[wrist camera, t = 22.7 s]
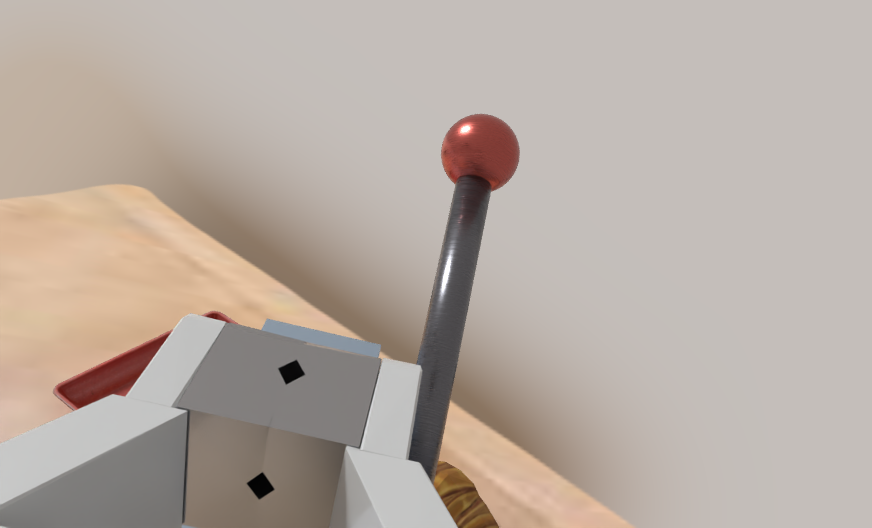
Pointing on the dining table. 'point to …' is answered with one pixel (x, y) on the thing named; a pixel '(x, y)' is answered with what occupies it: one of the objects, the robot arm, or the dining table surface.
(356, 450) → the robot arm
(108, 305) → the dining table surface
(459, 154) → the lever
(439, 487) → the croissant
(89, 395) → the plant saucer
